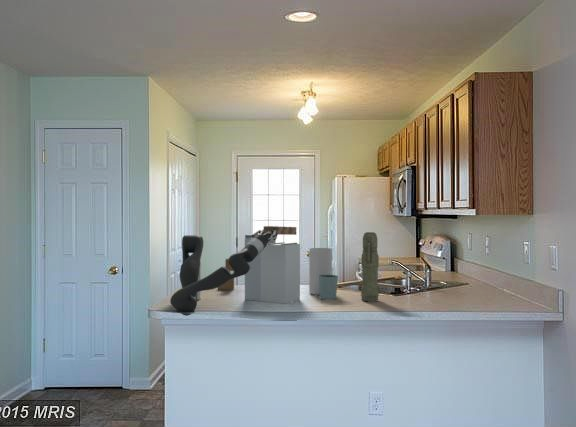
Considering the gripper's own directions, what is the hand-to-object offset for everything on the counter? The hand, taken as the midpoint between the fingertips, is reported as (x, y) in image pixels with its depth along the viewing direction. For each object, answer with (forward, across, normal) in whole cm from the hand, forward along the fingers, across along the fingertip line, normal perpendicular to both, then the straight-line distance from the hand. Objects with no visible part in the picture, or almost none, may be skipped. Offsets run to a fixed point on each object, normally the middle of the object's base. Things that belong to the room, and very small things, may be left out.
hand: (272, 227), depth 283 cm
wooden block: (+6, -49, -45) cm, 67 cm away
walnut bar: (+5, 0, -7) cm, 9 cm away
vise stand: (-9, -7, -37) cm, 39 cm away
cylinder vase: (+18, +6, -53) cm, 56 cm away
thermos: (+10, +38, -49) cm, 63 cm away
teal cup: (+7, +16, -47) cm, 50 cm away
